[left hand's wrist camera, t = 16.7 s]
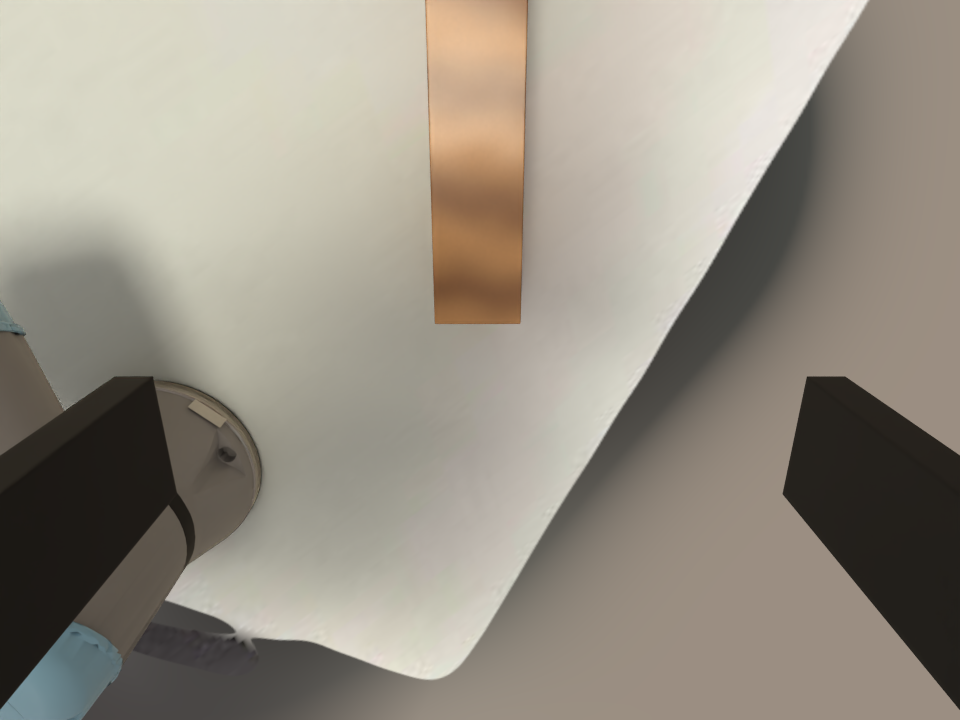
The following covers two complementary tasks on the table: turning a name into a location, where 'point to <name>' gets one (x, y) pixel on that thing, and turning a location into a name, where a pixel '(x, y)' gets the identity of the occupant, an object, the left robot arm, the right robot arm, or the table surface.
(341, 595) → the table surface
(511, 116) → the bar
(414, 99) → the table surface
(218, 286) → the table surface
